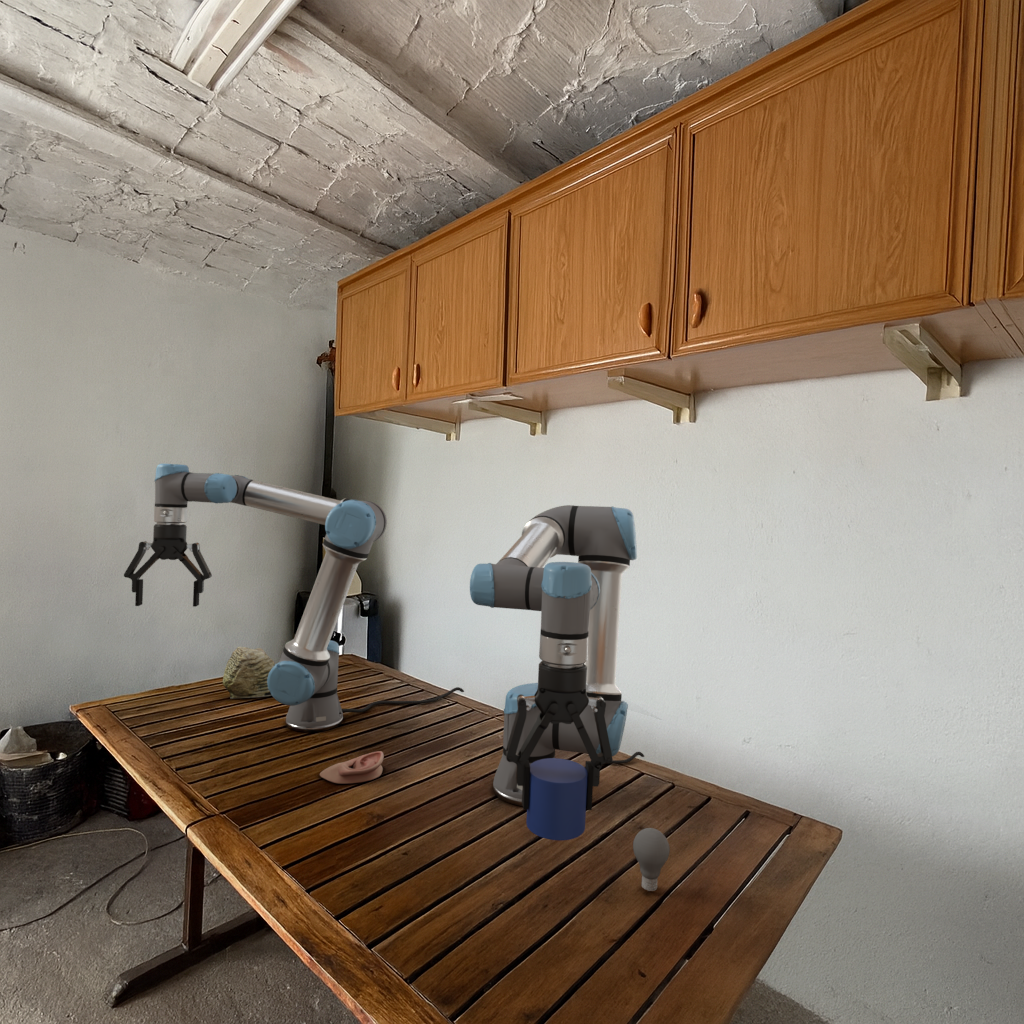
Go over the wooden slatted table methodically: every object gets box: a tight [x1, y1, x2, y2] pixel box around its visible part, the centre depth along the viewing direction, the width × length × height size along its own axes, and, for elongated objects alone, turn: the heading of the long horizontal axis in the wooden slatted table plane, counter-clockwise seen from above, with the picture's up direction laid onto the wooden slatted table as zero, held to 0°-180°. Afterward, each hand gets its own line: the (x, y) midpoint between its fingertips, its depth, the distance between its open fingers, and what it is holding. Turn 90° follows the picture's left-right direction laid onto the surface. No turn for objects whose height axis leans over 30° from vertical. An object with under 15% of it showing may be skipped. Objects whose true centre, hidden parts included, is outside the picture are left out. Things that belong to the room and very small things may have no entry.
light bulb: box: [632, 827, 671, 892], centre depth 106 cm, size 6×6×10 cm
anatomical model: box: [319, 750, 385, 785], centre depth 145 cm, size 13×4×12 cm
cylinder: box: [525, 757, 588, 841], centre depth 99 cm, size 9×9×9 cm
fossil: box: [222, 646, 276, 699], centre depth 198 cm, size 9×18×15 cm, turn 132°
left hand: (167, 605), depth 164 cm, fingers open, 13 cm apart
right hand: (556, 805), depth 99 cm, fingers closed on cylinder, 9 cm apart
